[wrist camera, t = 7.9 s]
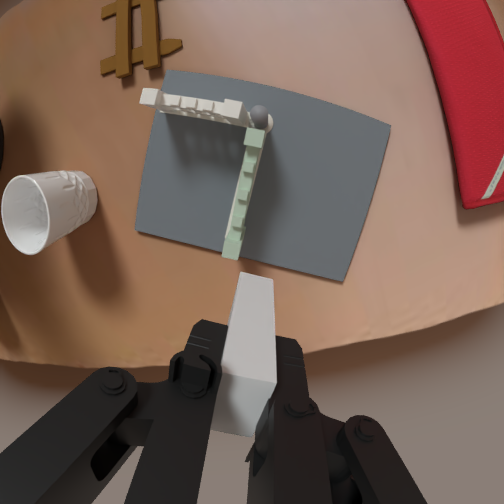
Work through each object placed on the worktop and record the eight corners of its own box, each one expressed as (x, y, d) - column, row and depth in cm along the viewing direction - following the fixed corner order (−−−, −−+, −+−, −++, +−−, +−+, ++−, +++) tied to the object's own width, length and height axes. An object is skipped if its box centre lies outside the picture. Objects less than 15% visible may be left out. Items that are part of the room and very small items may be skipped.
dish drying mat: (446, -53, 15) (456, -62, 11) (522, 191, 27) (539, 196, 24) (359, -71, 17) (366, -84, 13) (450, 205, 29) (467, 212, 26)
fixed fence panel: (164, 111, 27) (139, 103, 21) (167, 99, 26) (143, 87, 20) (244, 126, 27) (238, 118, 21) (247, 112, 27) (242, 101, 20)
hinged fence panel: (255, 114, 26) (252, 103, 20) (269, 117, 26) (270, 107, 20) (230, 236, 30) (220, 258, 24) (243, 239, 30) (237, 262, 24)
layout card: (136, 228, 32) (134, 230, 31) (168, 71, 26) (166, 69, 25) (341, 279, 32) (343, 282, 32) (388, 125, 26) (391, 125, 26)
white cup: (61, 158, 29) (5, 166, 20) (109, 176, 30) (55, 189, 20) (50, 215, 32) (-1, 238, 22) (94, 237, 32) (45, 267, 23)
